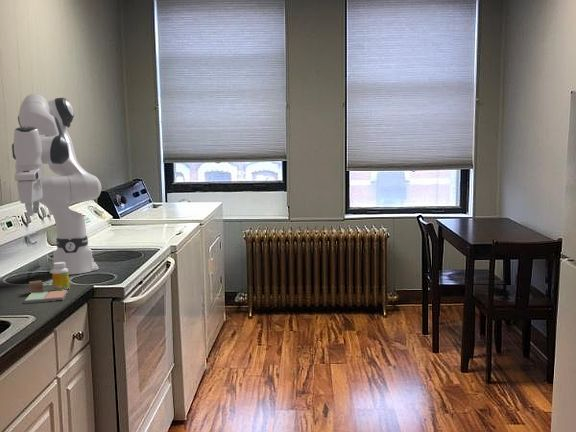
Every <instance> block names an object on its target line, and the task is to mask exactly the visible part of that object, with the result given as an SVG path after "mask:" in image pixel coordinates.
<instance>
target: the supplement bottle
mask: <svg viewBox="0 0 576 432" xmlns="http://www.w3.org/2000/svg"><path fill="white" fill-rule="evenodd" d="M65 266H66V263H65V262H56V263H54V262H53V268H52V269H53V270H52V269H51V270H52V273H51V274H52V275H51V276H52V290H53V289H55V290H64V289H68V288H69V289H70V277H69V274H68V269H67V268H65ZM54 268H55V269H54Z"/></svg>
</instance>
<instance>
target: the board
mask: <svg viewBox="0 0 576 432" xmlns="http://www.w3.org/2000/svg"><path fill="white" fill-rule="evenodd" d="M67 293H69V290H62V291H54V290H51V291H43V292H36V293H31V294H29V295H28V296H27V297H26V299H24V300H23V304H24V305H25V304H36V303H50V302H49V301H52V302H57V301H56V300H62V301H64V300H65V298H66V297H67V295H68V294H67ZM66 294H67V295H66ZM65 296H66V297H65Z"/></svg>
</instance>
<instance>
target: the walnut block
mask: <svg viewBox="0 0 576 432" xmlns="http://www.w3.org/2000/svg"><path fill="white" fill-rule="evenodd" d="M28 284H29V293H36V292H44V286H43V281H42V279H41V280H33V281H29V282H28Z"/></svg>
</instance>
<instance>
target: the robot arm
mask: <svg viewBox="0 0 576 432" xmlns="http://www.w3.org/2000/svg"><path fill="white" fill-rule="evenodd" d="M74 117H75V113H74V108H73V106H72V104H71V102H70V101H69V100H68V99H67V98H65V97H56V98H55V99H51V100H47V99H46V98H45V96H43V95H41V94H39V93H31V94H29V95H26V97H24V98H23V100H22V102H21V105H20V107H19V112H18V116H17V122H18V125H19V127H16V128H15V129H14V132H13V143H12V144H11V150H12V153H11V154H12V158H13V159H14V160H15V174H14V181H15V182H17V183H16V185H17V193H18V199H19V201H20V204H24V206H25V207H24V208H25V210H26V216H27V217H32V216H34V214H38V213H40V204H42V205H44V207H46V208H47V209H48V210H49V211H50V212H51V214H52V216H53V219H54V222H55V228H56V236H57V237H56V240H55V244H56V247H57V248H56V250H54V252H53V264H54V263H56V262H65V263H66V266H65V268H67V269H68V274H69V275H78V274H79V275H80V274H85V273H89V272H93V271H99V270H98V269H99V266H98V263H96V261H95V258H94V257H93V250H92V249H91V248H90V247H89V238H88V236H87V229H86V219H85V216H84V215H82V213H80V212H78V211H76V210H72V209H71V208H69V204H71V203H83V202H89V201H93V200H96V199H98V198H99V197H100V195H101V193H102V184H101V181H100V180H99V178H98V177H97V176H96V175H94V174H91V173H89V171H86V170H85V169H84V168H83V166H81V165H80V163H79V161H78V158H77V156H76V151H75V147H74V143H73V140H72V138H71V136H70V134H69V132H68V129H66V128H70V127H71V123H72V122H73V120H74ZM44 165H48V167H49V169H50V170H51V171H52V172H53V173H54V174H56V175H49V176H45V174H44V173H45V172H44ZM53 269H55V268H54V267H53V268H52V269H51V270H49V274H52V270H53Z"/></svg>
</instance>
